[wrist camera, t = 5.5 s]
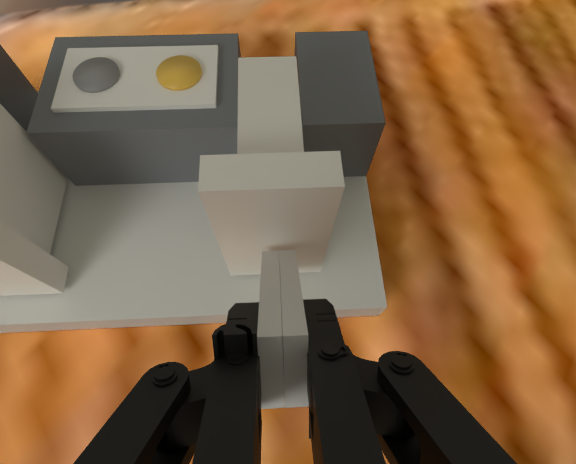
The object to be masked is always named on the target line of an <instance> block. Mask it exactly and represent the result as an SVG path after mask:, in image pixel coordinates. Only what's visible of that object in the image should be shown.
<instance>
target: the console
mask: <svg viewBox="0 0 576 464" xmlns="http://www.w3.org/2000/svg"><path fill="white" fill-rule="evenodd" d="M295 56H296V59H297V72H298V84H299V96H300V109H301V121H302V133H303V146H304V152H317V151H340V154H341V161H342V169H343V177H344V184H345V187H344V191H343V195H342V198H341V202H340V205H339V209H338V212H337V216H336V219H335V223H334V226H333V230H332V233H331V237H330V240H329V244H328V248H327V251H326V255H325V258H324V262H323V265H322V269H321V272H304V273H299V277H300V284H301V290H302V297H303V300H305V299H327V300H328V301H329V302H330V303H331V304H332V305H333V306H334V310H335V313H336V316H337V317H359V316H379V315H380V314H381V313H382V312H383V311H384V310H385V309H386V308H387V303H386V297H385V291H384V284H383V278H382V272H381V266H380V259H379V253H378V247H377V241H376V234H375V228H374V222H373V216H372V209H371V203H370V197H369V191H368V185H367V178H366V175H367V172H368V170H369V167H370V164H371V161H372V159H373V156H374V153H375V150H376V148H377V145H378V142H379V139H380V137H381V134H382V131H383V128H384V126H385V118H384V113H383V108H382V103H381V98H380V93H379V88H378V83H377V78H376V73H375V68H374V63H373V58H372V53H371V48H370V43H369V38H368V33H367V31H339V32H295ZM238 58H241V54H240V46H239V38H238V34H196V35H148V36H101V37H55V41H54V44H53V47H52V50H51V54H50V57H49V60H48V64H47V67H46V70H45V73H44V77H43V80H42V83H41V87H40V90H39V91H38V92H37V91H36V90H35V89H34V87H33V86H32V85H31V84H30V82H29V81H28V80H27V78H26V77H25V76H24V75H23V73H22V72H21V71H20V69H19V68H18V67H17V66H16V64H15V63H14V62H13V60H12V59H11V58H10V57H9V55H8V54H7V53H6V51H5V50H4V49H3V48H2V46H1V45H0V104H1V105H2V106H3V107H4V108H5V109H6V110H7V111H8V113H9V114H10V115H11V116H12V117H13V118H14V119H15V120H16V121H17V122H18V123H19V124H20V125H21V127H22V128H23V129H24V130H25V131H26V133H27V135H28V136H29V137H30V138H31V139H32V140H33V141H34V142H35V143H36V144H37V145H38V146H39V147H40V148H41V149H42V151H43V152H44V153H45V154H46V155H47V156H48V157H49V158H50V159H51V160H52V161H53V162H54V163H55V164H56V166H57V167H58V168H59V169H60V170H61V171H62V172H63V173H64V174H65V175H66V176H67V177H68V179H67V184H66V188H65V192H64V197H63V201H62V205H61V209H60V214H59V218H58V222H57V227H56V231H55V235H54V240H53V244H52V248H51V253H50V255H51V256H53V257H55V258H56V259H58V260H59V261H61V262H62V263H64V264H65V265H67V266H68V267H69V269H68V274H67V279H66V284H65V288H64V293H57V294H33V295H10V296H0V333H10V332H32V331H54V330H76V329H97V328H119V327H141V326H163V325H184V324H206V323H226V321H227V316H228V311H229V310H230V308H231V307H232V306H233V305H234V304H235V303H251V302H259V295H260V279H261V274H256V275H232V276H231V275H230V272H229V270H228V267H227V264H226V262H225V259H224V257H223V254H222V252H221V249H220V246H219V244H218V241H217V239H216V236H215V234H214V231H213V229H212V226H211V223H210V221H209V218H208V216H207V213H206V211H205V208H204V206H203V203H202V200H201V198H200V195H199V193H198V183H199V167H200V155H222V154H237V131H238Z"/></svg>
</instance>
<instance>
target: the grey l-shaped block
mask: <svg viewBox="0 0 576 464" xmlns="http://www.w3.org/2000/svg"><path fill="white" fill-rule="evenodd" d="M67 179H68V177H67V176H66V175H65V174H64V173H63V172H62V171H61V170H60V169H59V168H58V167H57V166H56V164H55V163H54V162H53V161H52V160H51V159H50V158H49V157H48V156H47V155H46V154H45V153H44V152H43V151H42V149H41V148H40V147H39V146H38V145H37V144H36V143H35V142H34V141H33V140H32V139H31V138H30V137H29V136H28V135H27V133H26V131H25V130H24V129H23V128H22V127H21V125H20V124H19V123H18V122H17V121H16V120H15V119H14V118H13V117H12V116H11V115H10V114H9V113H8V111H7V110H6V109H5V108H4V107H3V106H2V105H1V104H0V296H10V295H33V294H57V293H64V288H65V284H66V279H67V274H68V269H69V267H68V266H67V265H65V264H64V263H62V262H61V261H59V260H58V259H56V258H55V257H53V256H51V255H50V253H51V248H52V244H53V240H54V235H55V231H56V227H57V222H58V218H59V214H60V209H61V205H62V201H63V197H64V192H65V188H66V184H67Z"/></svg>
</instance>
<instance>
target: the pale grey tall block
mask: <svg viewBox="0 0 576 464" xmlns="http://www.w3.org/2000/svg"><path fill="white" fill-rule="evenodd" d="M344 187H345V184H344V177H343V169H342V161H341V154H340V151H317V152H304V146H303V133H302V121H301V109H300V96H299V84H298V72H297V59H296V56H289V57H245V58H238V131H237V154H222V155H200V167H199V183H198V193H199V195H200V198H201V200H202V203H203V206H204V208H205V211H206V213H207V216H208V218H209V221H210V223H211V226H212V229H213V231H214V234H215V236H216V239H217V241H218V244H219V246H220V249H221V252H222V254H223V257H224V259H225V262H226V264H227V267H228V270H229V272H230V275H231V276H232V275H256V274H261V262H262V251H274V250H295V251H296V257H297V264H298V271H299V273H304V272H321V269H322V265H323V262H324V258H325V255H326V251H327V248H328V244H329V240H330V237H331V233H332V230H333V226H334V223H335V219H336V216H337V212H338V209H339V205H340V202H341V198H342V195H343V191H344Z"/></svg>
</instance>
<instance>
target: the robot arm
mask: <svg viewBox="0 0 576 464" xmlns="http://www.w3.org/2000/svg"><path fill="white" fill-rule="evenodd" d="M212 339H213V349H214V361H213V362H212V363H211V364H209V365H207V366H205V367H202V368H199V369H196V370H192V371H188V369H187V367H185V366H184V365H183V364H181V363H177V362H166V363H162V364H159V365H157V366H155V367H153V368H151V369H149V370H148V371H147V372H146V373H145V374H144V375H143V376H142V378H141V379H140V380H139V381H138V383H137V384H136V385H135V387H134V388H133V389H132V390H131V392H130V393H129V394H128V395H127V397H126V398H125V399H124V400H123V402H122V403H121V404H120V405H119V407H118V408H117V409H116V411H115V412H114V413H113V414H112V416H111V417H110V418H109V419H108V421H107V422H106V423H105V424H104V426H103V427H102V428H101V429H100V431H99V432H98V433H97V434H96V436H95V437H94V438H93V440H92V441H91V442H90V443H89V445H88V446H87V447H86V448H85V450H84V451H83V452H82V453H81V455H80V456H79V457H78V458H77V460H76V461H75V462H74V464H189V463H190V461H191V459H192V457H193V455H194V458H193V463H192V464H261V431H262V419H261V409H268V408H289V407H308V402H309V439H311V442H312V451H313V460H314V464H386V463H385V460H384V457H383V453H384V455H385V456H386V458H387V460H388V461H389V463H390V464H517V463H516V462H515V461H514V460H513V459H512V458H511V457H510V456H509V455H508V454H507V453H506V452H505V450H504V449H503V448H502V447H501V446H500V445H499V444H498V443H497V442H496V441H495V440H494V439H493V438H492V436H491V435H490V434H489V433H488V432H487V431H486V430H485V429H484V428H483V427H482V426H481V425H480V424H479V423H478V421H477V420H476V419H475V418H474V417H473V416H472V415H471V414H470V413H469V412H468V411H467V410H466V409H465V408H464V406H463V405H462V404H461V403H460V402H459V401H458V400H457V399H456V398H455V397H454V396H453V395H452V394H451V393H450V391H449V390H448V389H447V388H446V387H445V386H444V385H443V384H442V383H441V382H440V381H439V380H438V379H437V378H436V376H435V375H434V374H433V373H432V372H431V371H430V370H429V369H428V368H427V367H426V366H425V365H424V364H423V363H422V361H420V360H419V359H418V358H417V357H415V356H413V355H411V354H409V353H406V352H400V351H391V352H387V353H385V354H383V355H382V356H381V357H380V358H379V362H375V361H369V360H365V359H361V358H359V357H357V356H355V355H353V354H352V352H351V350H350V349H349V347H348V346H346V345H345V344H344V340H343V337H342V334H341V330H340V327H339V323H338V321H337V316H336V313H335V310H334V306H333V305H332V304H331V303H330V302H329V301H328V300H327V299H305V300H303V297H302V290H301V284H300V277H299V271H298V264H297V257H296V251H295V250H274V251H262V262H261V279H260V295H259V302H251V303H235V304H234V305H233V306H232V307H231V308H230V310H229V311H228V316H227V321H226V324H225V325H222V326H220V327H219V328H218V329H216V330H215V331H214V333H213V335H212ZM284 397H285V403H284ZM382 451H383V453H382ZM194 453H195V454H194Z"/></svg>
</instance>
